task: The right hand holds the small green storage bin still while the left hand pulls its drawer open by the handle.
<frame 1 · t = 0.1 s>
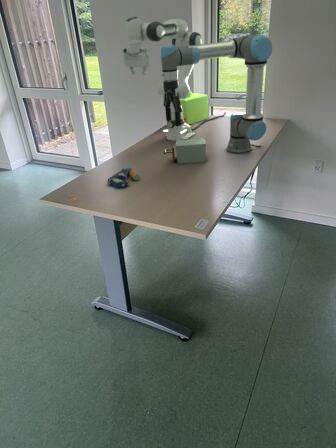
left hand: (138, 74, 205), 48 cm above the table, tool pointing down, fingers open, 8 cm apart
right hand: (173, 123, 178), 28 cm above the table, tool pointing down, fingers open, 13 cm apart
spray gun: (125, 180, 187), on the table
lime green box: (189, 120, 289), on the table
green storage bin: (191, 159, 208), on the table
drawer: (181, 151, 205), point 6 cm above the table, slide at 1.5 cm
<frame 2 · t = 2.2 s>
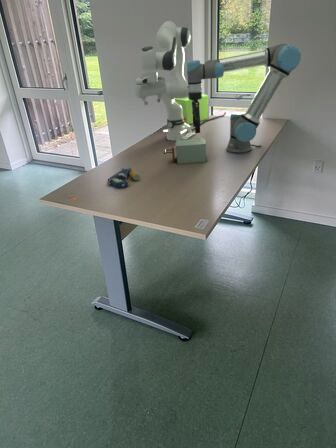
left hand: (152, 103, 201), 33 cm above the table, tool pointing down, fingers open, 8 cm apart
right hand: (196, 129, 197), 19 cm above the table, tool pointing down, fingers open, 13 cm apart
nothing on the table moved.
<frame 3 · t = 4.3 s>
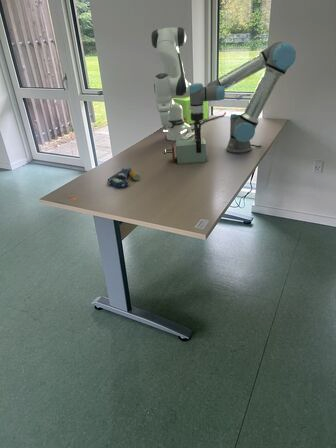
left hand: (166, 129, 198), 20 cm above the table, tool pointing down, fingers open, 5 cm apart
right hand: (198, 149, 204), 6 cm above the table, tool pointing down, fingers closed on green storage bin, 10 cm apart
green storage bin: (191, 159, 208), on the table, touching right hand
everything else where it was.
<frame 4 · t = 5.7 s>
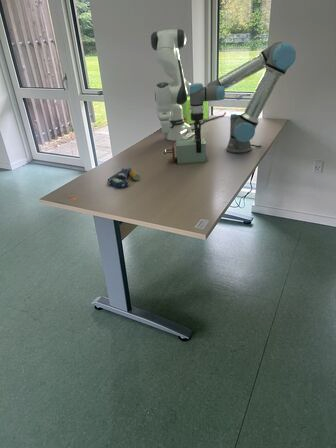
left hand: (166, 137, 200), 15 cm above the table, tool pointing down, fingers closed
right hand: (198, 149, 204), 6 cm above the table, tool pointing down, fingers closed on green storage bin, 10 cm apart
green storage bin: (191, 159, 208), on the table, touching right hand
everything else where it was.
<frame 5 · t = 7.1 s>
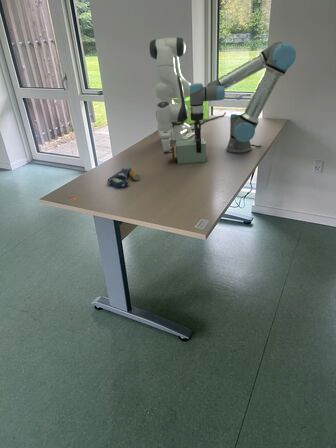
left hand: (167, 153, 206), 5 cm above the table, tool pointing down, fingers closed, pressing on drawer
right hand: (198, 149, 204), 6 cm above the table, tool pointing down, fingers closed on green storage bin, 10 cm apart
green storage bin: (191, 159, 208), on the table, touching right hand
drawer: (181, 151, 205), point 6 cm above the table, slide at 1.6 cm, touching left hand
everything else where it was.
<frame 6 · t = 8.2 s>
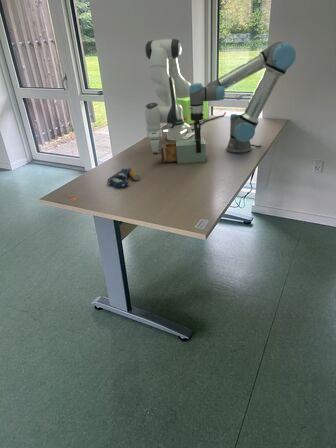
left hand: (156, 154, 206), 5 cm above the table, tool pointing down, fingers closed, pressing on drawer
right hand: (198, 149, 204), 6 cm above the table, tool pointing down, fingers closed on green storage bin, 10 cm apart
green storage bin: (191, 159, 207), on the table, touching right hand
drawer: (170, 152, 205), point 6 cm above the table, slide at 8.0 cm, touching left hand
everything else where it was.
when the right hand's fingers open (6 cm above the table, at t = 10.2 s): green storage bin stays where it is, on the table.
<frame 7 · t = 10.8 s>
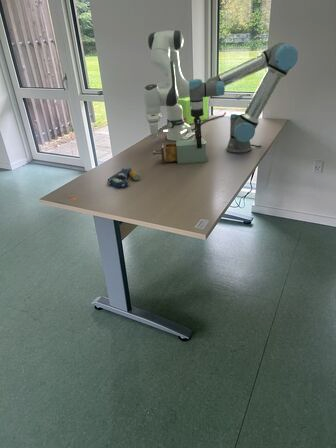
left hand: (156, 138, 201), 15 cm above the table, tool pointing down, fingers closed
right hand: (198, 144, 203), 9 cm above the table, tool pointing down, fingers open, 13 cm apart
green storage bin: (191, 159, 208), on the table
drawer: (170, 152, 205), point 6 cm above the table, slide at 8.1 cm
everything else where it was.
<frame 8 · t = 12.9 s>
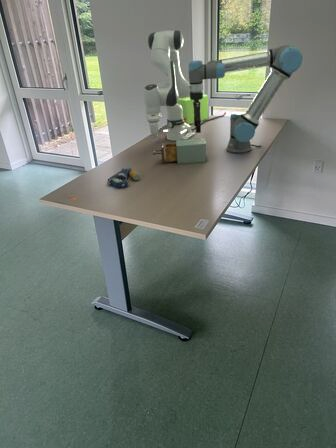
left hand: (156, 138, 201), 15 cm above the table, tool pointing down, fingers closed
right hand: (197, 129, 198), 18 cm above the table, tool pointing down, fingers open, 13 cm apart
nothing on the table moved.
at the end: drawer slide at 8.1 cm; green storage bin tilted 0°; green storage bin never tilted more than 1° during the clip; green storage bin moved 0.0 cm from its start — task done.
